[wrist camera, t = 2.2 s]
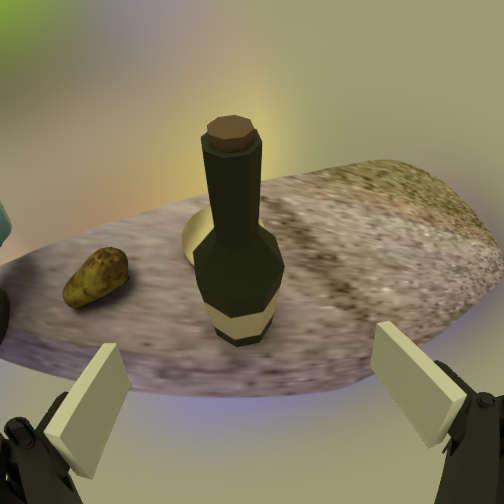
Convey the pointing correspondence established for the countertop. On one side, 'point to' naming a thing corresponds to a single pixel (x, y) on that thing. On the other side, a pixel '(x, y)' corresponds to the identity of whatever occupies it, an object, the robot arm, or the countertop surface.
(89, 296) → the potato
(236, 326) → the wine bottle
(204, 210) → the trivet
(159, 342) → the countertop surface
